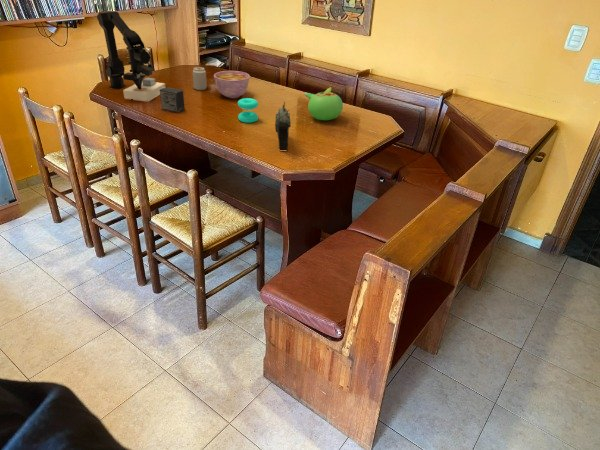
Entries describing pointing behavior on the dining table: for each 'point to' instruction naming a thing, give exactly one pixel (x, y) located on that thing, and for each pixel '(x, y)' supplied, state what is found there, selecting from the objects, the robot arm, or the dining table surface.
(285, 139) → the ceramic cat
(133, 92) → the console
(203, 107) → the dining table surface
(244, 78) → the bowl of food
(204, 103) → the dining table surface
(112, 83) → the robot arm
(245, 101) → the donuts
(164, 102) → the small box
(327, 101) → the green rounded body
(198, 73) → the can
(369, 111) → the dining table surface
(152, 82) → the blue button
